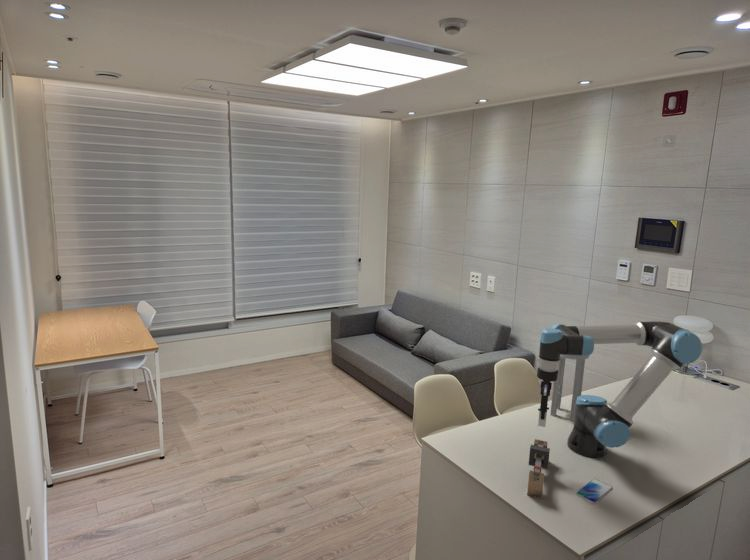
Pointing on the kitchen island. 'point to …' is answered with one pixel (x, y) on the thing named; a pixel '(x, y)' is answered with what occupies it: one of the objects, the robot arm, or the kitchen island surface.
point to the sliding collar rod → (537, 473)
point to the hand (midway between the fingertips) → (541, 425)
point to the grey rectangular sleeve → (541, 451)
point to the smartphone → (594, 490)
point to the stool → (576, 388)
